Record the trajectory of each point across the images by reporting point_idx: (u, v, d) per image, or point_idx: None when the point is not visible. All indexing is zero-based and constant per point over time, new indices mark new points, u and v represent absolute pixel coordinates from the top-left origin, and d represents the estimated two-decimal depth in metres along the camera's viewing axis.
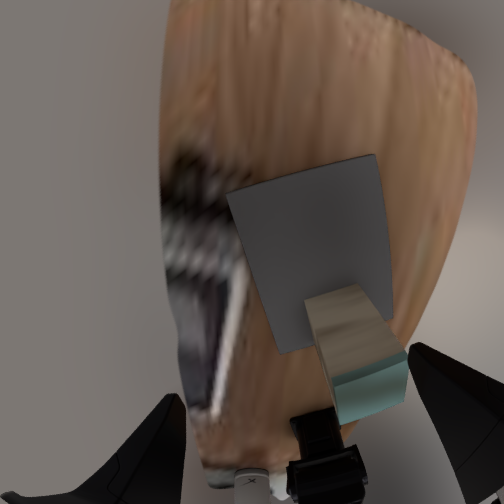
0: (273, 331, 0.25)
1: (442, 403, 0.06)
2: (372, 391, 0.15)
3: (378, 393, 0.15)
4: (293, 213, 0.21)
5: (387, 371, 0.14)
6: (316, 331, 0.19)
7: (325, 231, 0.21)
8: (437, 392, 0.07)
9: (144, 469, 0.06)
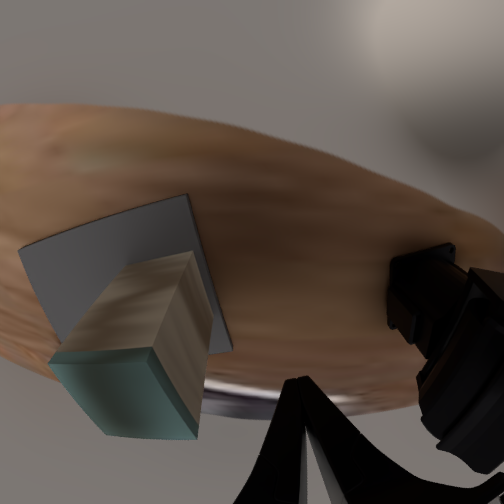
0: None
1: (316, 448, 0.07)
2: (110, 408, 0.09)
3: (114, 402, 0.09)
4: (72, 324, 0.19)
5: (72, 391, 0.09)
6: None
7: (79, 301, 0.18)
8: (311, 435, 0.07)
9: (301, 464, 0.05)
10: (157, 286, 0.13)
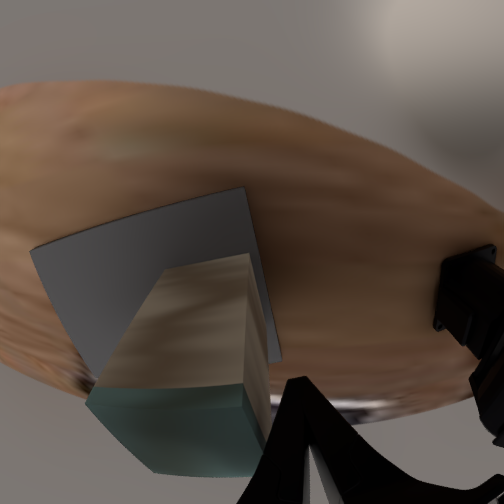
0: None
1: (313, 448, 0.07)
2: (170, 452, 0.07)
3: (178, 446, 0.07)
4: (95, 336, 0.18)
5: (118, 433, 0.07)
6: None
7: (104, 310, 0.17)
8: (309, 435, 0.07)
9: (305, 463, 0.05)
10: (219, 296, 0.11)
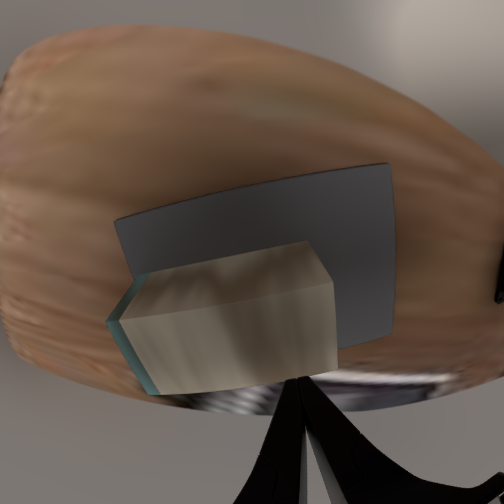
0: (353, 344, 0.18)
1: (316, 448, 0.07)
2: None
3: None
4: None
5: None
6: None
7: None
8: (311, 435, 0.07)
9: (301, 464, 0.05)
10: (226, 289, 0.12)
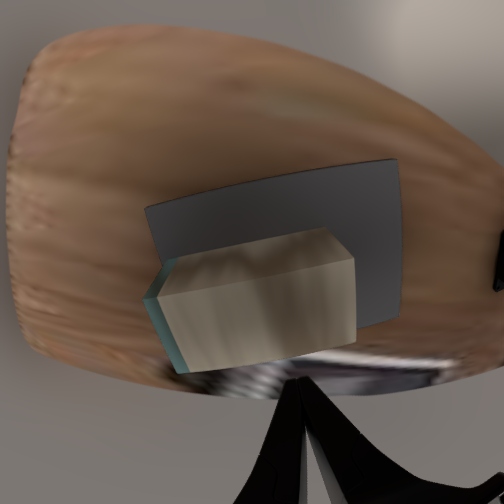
0: (364, 325, 0.19)
1: (316, 448, 0.07)
2: None
3: None
4: None
5: None
6: None
7: None
8: (311, 435, 0.07)
9: (301, 464, 0.05)
10: (258, 267, 0.13)
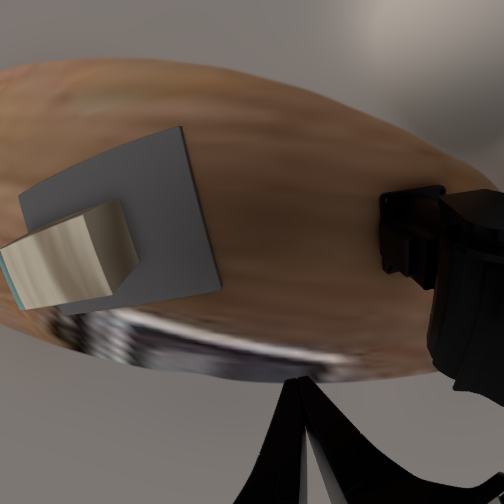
0: (182, 295, 0.21)
1: (315, 448, 0.07)
2: None
3: None
4: None
5: None
6: None
7: None
8: (311, 435, 0.07)
9: (301, 464, 0.05)
10: (46, 227, 0.14)
